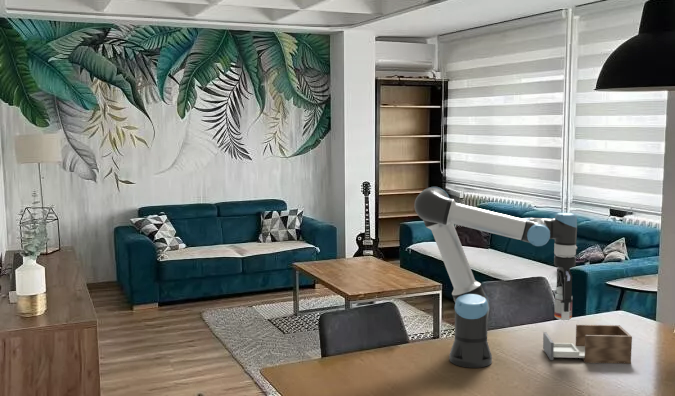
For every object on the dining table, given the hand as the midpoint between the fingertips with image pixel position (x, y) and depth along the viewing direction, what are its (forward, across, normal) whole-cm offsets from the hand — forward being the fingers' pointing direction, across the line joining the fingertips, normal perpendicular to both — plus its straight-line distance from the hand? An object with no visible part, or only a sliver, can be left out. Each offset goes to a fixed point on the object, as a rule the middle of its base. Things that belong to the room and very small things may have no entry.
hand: (563, 317), depth 263 cm
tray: (+14, 0, -2) cm, 15 cm away
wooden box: (+15, 0, -15) cm, 21 cm away
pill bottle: (+1, 0, 0) cm, 1 cm away
